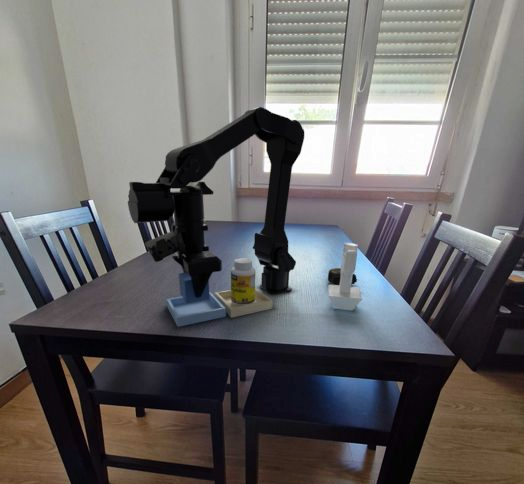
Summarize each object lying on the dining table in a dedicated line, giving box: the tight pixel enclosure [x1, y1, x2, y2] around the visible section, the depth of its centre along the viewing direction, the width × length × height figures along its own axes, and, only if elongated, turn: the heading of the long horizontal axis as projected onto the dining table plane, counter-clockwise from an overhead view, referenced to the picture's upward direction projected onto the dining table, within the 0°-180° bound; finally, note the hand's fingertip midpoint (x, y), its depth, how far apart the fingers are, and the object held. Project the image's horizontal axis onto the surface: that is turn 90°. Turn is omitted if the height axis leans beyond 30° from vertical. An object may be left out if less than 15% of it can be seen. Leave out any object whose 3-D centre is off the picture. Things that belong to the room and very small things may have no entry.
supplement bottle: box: [230, 257, 256, 306], centre depth 64 cm, size 6×6×10 cm
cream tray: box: [214, 287, 274, 319], centre depth 66 cm, size 10×10×2 cm
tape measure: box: [327, 267, 358, 286], centre depth 80 cm, size 7×7×4 cm
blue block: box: [178, 272, 210, 303], centre depth 60 cm, size 5×5×5 cm
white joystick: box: [328, 242, 363, 311], centre depth 64 cm, size 7×9×15 cm
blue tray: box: [166, 291, 227, 328], centre depth 62 cm, size 10×10×2 cm
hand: (194, 292), depth 61 cm, fingers closed on blue block, 5 cm apart
